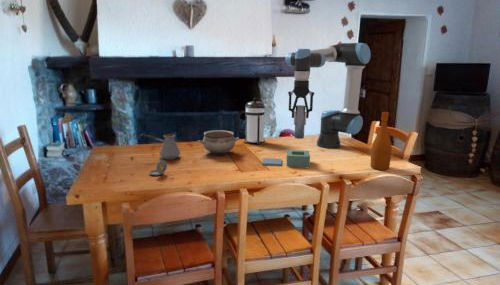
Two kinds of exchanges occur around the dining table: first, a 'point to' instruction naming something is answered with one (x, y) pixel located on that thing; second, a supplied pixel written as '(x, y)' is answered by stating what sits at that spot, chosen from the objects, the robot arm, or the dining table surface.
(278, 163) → the slate mat
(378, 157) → the wine bottle
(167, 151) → the coffee pot
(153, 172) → the pocket watch
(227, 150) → the cooking pot
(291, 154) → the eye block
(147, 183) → the dining table surface
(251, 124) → the coffee press
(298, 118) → the metal peg
